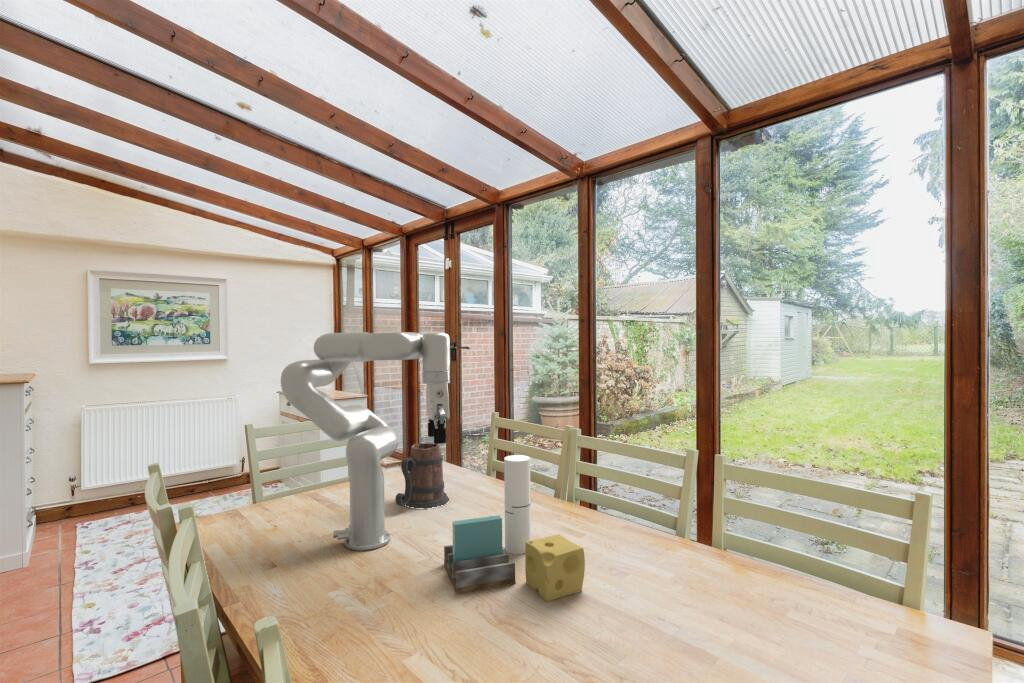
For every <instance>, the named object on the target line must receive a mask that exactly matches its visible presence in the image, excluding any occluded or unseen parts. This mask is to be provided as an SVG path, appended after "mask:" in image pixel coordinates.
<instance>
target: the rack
mask: <svg viewBox="0 0 1024 683" xmlns="http://www.w3.org/2000/svg"><path fill="white" fill-rule="evenodd" d="M443 548H444V549H443V550H444V551H443V553H444V554H443V555H444V557H443V565H444V564H445V565H444V567H445V570H446V572H447V573H448V576H449V579H450V580H451V583H452V585H453V587H454V590H455V592H456V594H457V595H459V594H465V593H471V592H475V591H480V590H487V589H492V588H497V587H498V586H499V587H503V586H509V585H514V584H516V581H517V580H516V562H515V561H511V562H509V560H510V558H509V552H507V553H503V551H504V550H503V548H504V547H503V546H502V554H501V555H495V556H488V557H482V558H476V559H470V560H463V561H457V562H453V544H451V545H444V546H443ZM499 587H498V588H499Z"/></svg>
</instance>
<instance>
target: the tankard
mask: <svg viewBox="0 0 1024 683" xmlns="http://www.w3.org/2000/svg"><path fill="white" fill-rule="evenodd" d="M443 460H444V457H443V454H442V450H441V444H435V443H434V442H433V443H432V442H429V443H427V442H426V443H414V444H413V445H411V448H410V454H409V457H404V458H403V459H402V460H401V463H400V464H401V465H400V469H401V472H402V475H403V477H404V481H405V482H404V484H405V486H404V487H405V488H404V493H401V492H399V493H396V495H395V499H394V501H395V503H396V505H398V506H400V507H405V505H406V506H409V507H414V508H432V507H437V506H441V505H444V504H446V503H447V502H448V501H449V499H450V497H449V498H448V495H447V493H446V492H445V490H444V489H445V481H444V471H443V470H444V468H443ZM449 502H450V501H449ZM446 505H447V504H446ZM444 506H445V505H444ZM441 507H442V506H441Z"/></svg>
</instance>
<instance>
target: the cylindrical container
mask: <svg viewBox="0 0 1024 683" xmlns="http://www.w3.org/2000/svg"><path fill="white" fill-rule="evenodd" d="M503 462H504V464H503V465H504V468H503V469H504V472H503V473H504V476H503V477H504V479H503V480H504V481H503V482H504V550H505V552H507V553H508V554H512V553H513V554H512V555H523V553H524V554H525V543H526V542H527V541H532V539H531V538H532V537H531V536H532V534H531V533H532V532H531V531H532V530H531V528H532V526H531V525H532V524H531V522H532V519H531V516H532V515H531V508H532V506H531V505H532V504H531V457H530V456H528V455H522V454H513V455H512V454H511V455H507V456H505V457H504V461H503Z"/></svg>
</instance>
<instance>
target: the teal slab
mask: <svg viewBox="0 0 1024 683" xmlns="http://www.w3.org/2000/svg"><path fill="white" fill-rule="evenodd" d="M452 545H453V562H457V561H463V560H470V559H476V558H482V557H488V556H495V555H501V554H502V547H503V518H502V517H501V516H500V514H499V515H491V516H490V515H489V516H484V517H483V516H482V517H477V518H469V519H467V518H466V519H462V520H461V519H460V520H454V521H452Z"/></svg>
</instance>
